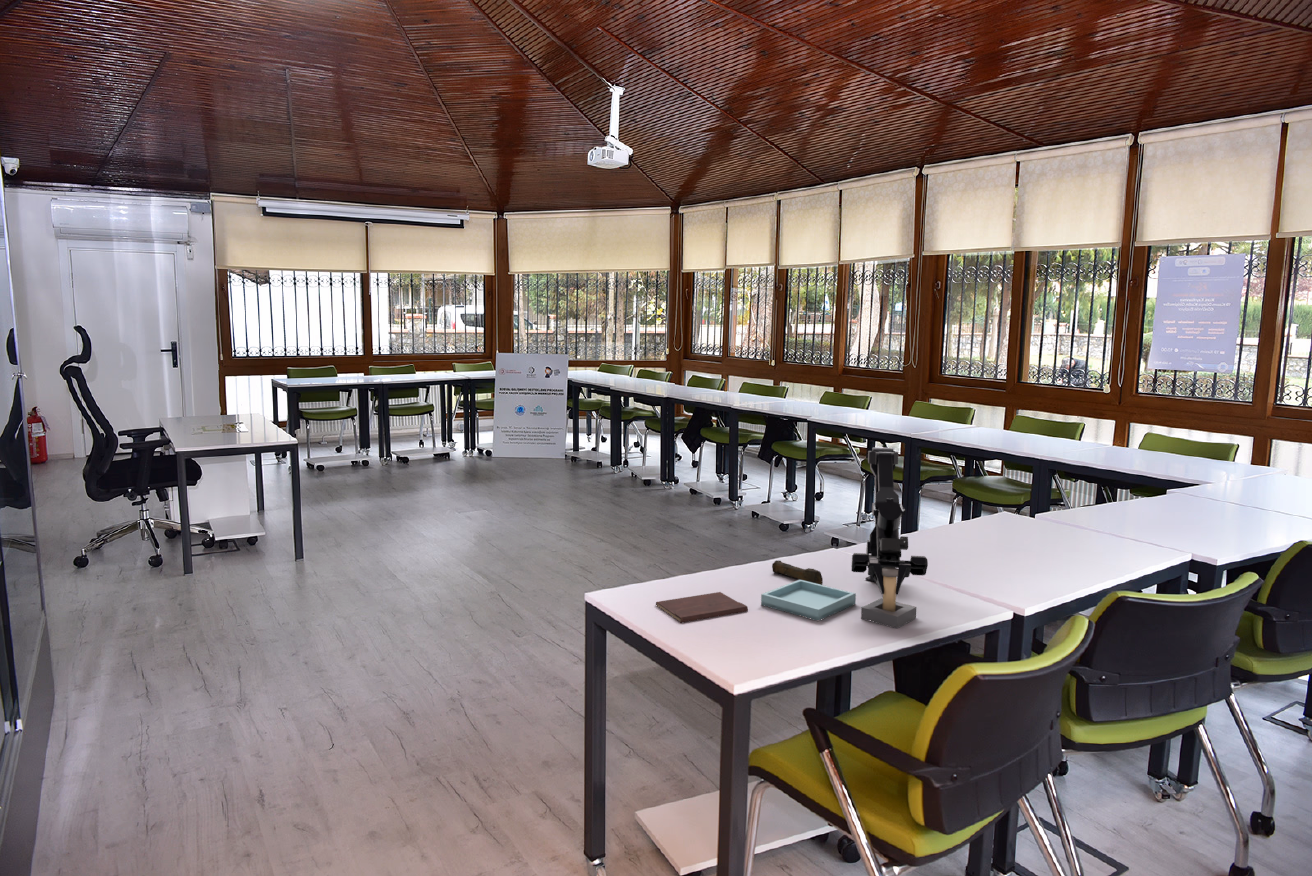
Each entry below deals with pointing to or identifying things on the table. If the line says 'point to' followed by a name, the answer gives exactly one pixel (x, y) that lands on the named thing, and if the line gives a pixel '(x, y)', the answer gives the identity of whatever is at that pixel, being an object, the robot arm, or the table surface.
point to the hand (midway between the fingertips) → (889, 593)
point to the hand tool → (798, 572)
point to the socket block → (888, 613)
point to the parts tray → (808, 599)
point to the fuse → (889, 588)
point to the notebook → (701, 607)
